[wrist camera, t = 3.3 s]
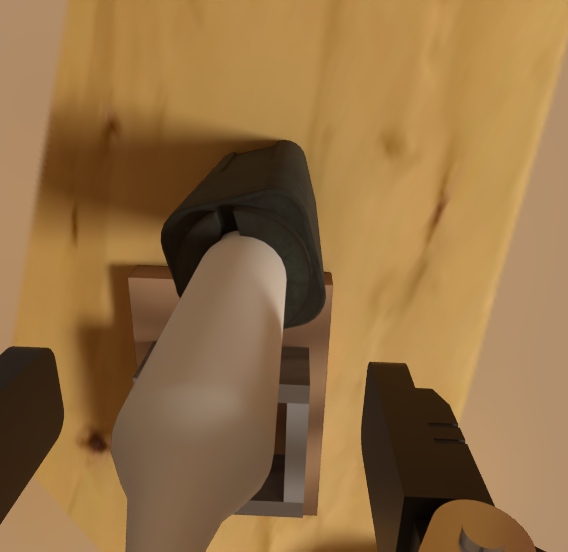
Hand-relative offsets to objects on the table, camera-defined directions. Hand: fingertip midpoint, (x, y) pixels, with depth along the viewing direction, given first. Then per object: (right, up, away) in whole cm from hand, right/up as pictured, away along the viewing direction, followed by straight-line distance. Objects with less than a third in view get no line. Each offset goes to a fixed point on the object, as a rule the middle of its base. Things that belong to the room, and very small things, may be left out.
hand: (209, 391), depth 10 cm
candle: (+1, +8, +18) cm, 20 cm away
